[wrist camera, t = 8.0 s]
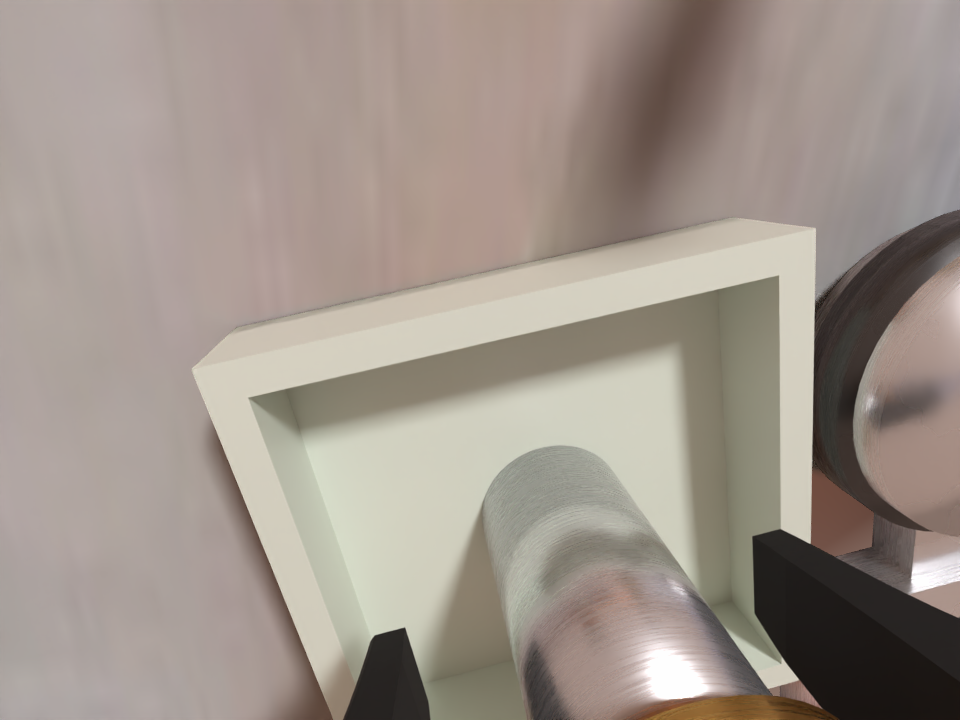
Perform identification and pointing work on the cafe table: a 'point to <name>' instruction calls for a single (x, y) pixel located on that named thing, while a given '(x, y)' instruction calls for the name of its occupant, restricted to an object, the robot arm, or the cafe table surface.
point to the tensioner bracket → (896, 409)
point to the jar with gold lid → (608, 605)
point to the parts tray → (522, 438)
